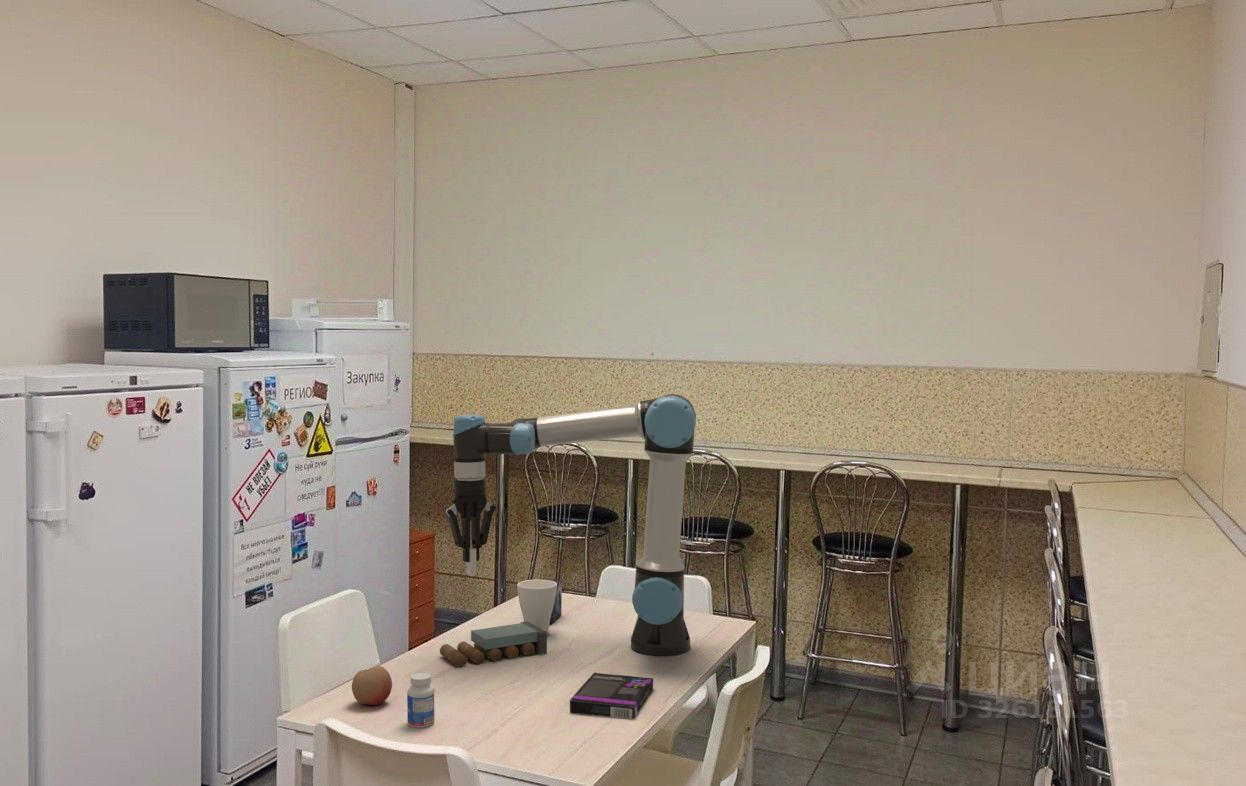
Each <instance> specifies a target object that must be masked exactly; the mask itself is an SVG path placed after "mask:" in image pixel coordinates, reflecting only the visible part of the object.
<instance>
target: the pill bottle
mask: <svg viewBox="0 0 1246 786" xmlns="http://www.w3.org/2000/svg"><path fill="white" fill-rule="evenodd" d="M431 683H432V675H431V674H429V673H425V672H422V673H421V672H420V673H419V672H418V673H415V674H412V675H411V676H410V686H408V688H407V692H406V695H407V696H406V698H407V699H406V700H407V704H406V706H407V709H406V711H407V713H406V716H407V725H408V726H410V727H412V728H418V729H421V728H427V727H430V726H432V725H433V724H435V716H436V715H435V711H436V710H435V688H434V686H433V685H432V684H431Z"/></svg>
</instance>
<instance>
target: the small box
mask: <svg viewBox="0 0 1246 786" xmlns="http://www.w3.org/2000/svg"><path fill="white" fill-rule="evenodd" d="M540 580H550V581H554V582H556V583H557V590H556V597H555V602H554V607H553V610H552V614H551V619H550V623H549V626H550V625H553V624H554V623H555V622H556V621H558V619H559V618H560V617H561V616H562V603H563V601H562V600H563V599H562V593H563V591H562V590H563V588H562V587H563V585H562V584H563V580H562V579H555V578H554V579H553V578H552V579H551V578H545V577H544V578H541V579H540Z"/></svg>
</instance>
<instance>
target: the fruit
mask: <svg viewBox="0 0 1246 786" xmlns="http://www.w3.org/2000/svg"><path fill="white" fill-rule="evenodd" d="M353 677H354V678H353V680H352V681H351V692H352V694H353V697H354V699H355V700H356V702H358V703H359V704H360V705H368V706H379V705H380V704H381V705H382V703H384V702H385V701H386V700H387V699H388V698H389V697H390V695H391V692H392V689H393V679H392V677H391V675H390V672H389V671H388V670H387V669H386V668H385V667H384V666H381V665H376V666H374V667H370V668H368V669H362V670H359V671H358V672H357V673H356V674H355V675H354V676H353Z"/></svg>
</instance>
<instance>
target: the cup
mask: <svg viewBox="0 0 1246 786" xmlns="http://www.w3.org/2000/svg"><path fill="white" fill-rule="evenodd" d="M516 586H517V596H518V602H519V607H520V611H521V614H522V619H523V622H529V623H531V624H533V625H535V626H537V627H539V628H541V629H543V630H545V631H546V632H547V636H548V635H549V632H550V631H549V629H550V625H549V623H550V619H551V614H552V610H553V607H554V602H555V597H556V590H557V583H556V582H554V581H550V580H541V579H527V580H522V581H519V582H518V583H517V585H516Z"/></svg>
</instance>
